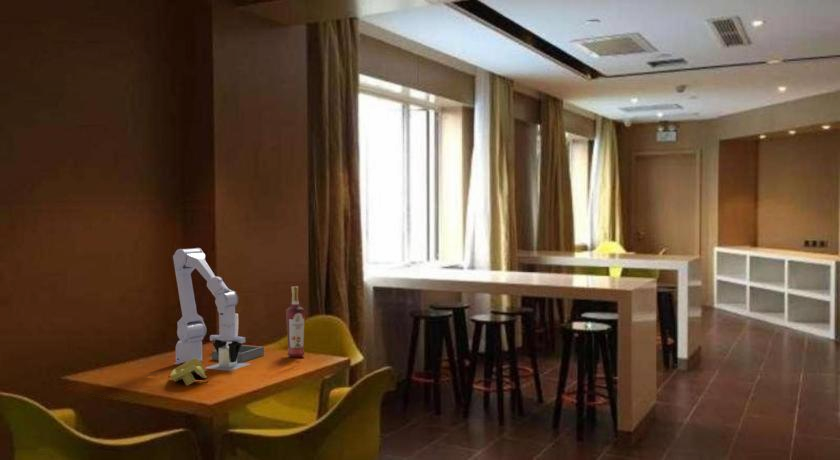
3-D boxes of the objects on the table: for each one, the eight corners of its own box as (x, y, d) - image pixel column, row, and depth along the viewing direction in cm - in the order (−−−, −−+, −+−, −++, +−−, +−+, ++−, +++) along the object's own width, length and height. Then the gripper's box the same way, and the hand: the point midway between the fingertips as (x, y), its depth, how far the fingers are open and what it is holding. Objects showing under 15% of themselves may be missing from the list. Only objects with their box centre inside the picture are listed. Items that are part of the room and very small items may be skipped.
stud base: (204, 371, 259) (203, 356, 259) (225, 364, 270) (224, 350, 270) (231, 374, 254) (230, 358, 254) (251, 367, 266) (251, 352, 265)
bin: (212, 362, 274) (211, 351, 274) (234, 355, 287) (234, 344, 287) (242, 365, 268) (241, 353, 268) (263, 358, 281) (263, 346, 281)
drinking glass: (242, 349, 300) (241, 313, 300) (231, 352, 294) (231, 315, 294) (229, 347, 303) (228, 312, 303) (218, 350, 297) (218, 315, 296)
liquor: (290, 359, 278) (289, 288, 277) (284, 356, 284) (282, 286, 283) (308, 357, 281) (307, 287, 280) (301, 354, 288) (300, 285, 287)
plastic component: (173, 369, 253) (199, 355, 255) (182, 387, 253) (209, 373, 256) (168, 377, 234) (197, 362, 236) (179, 397, 234) (207, 382, 237)
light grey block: (218, 366, 261) (218, 347, 261) (226, 364, 265) (226, 345, 265) (229, 367, 259) (228, 348, 259) (237, 365, 264) (236, 346, 263)
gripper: (204, 325, 261) (204, 362, 261) (236, 327, 255) (237, 365, 256) (216, 322, 267) (217, 358, 268) (248, 324, 262) (249, 361, 262)
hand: (227, 361), depth 262 cm, fingers closed on light grey block, 5 cm apart
